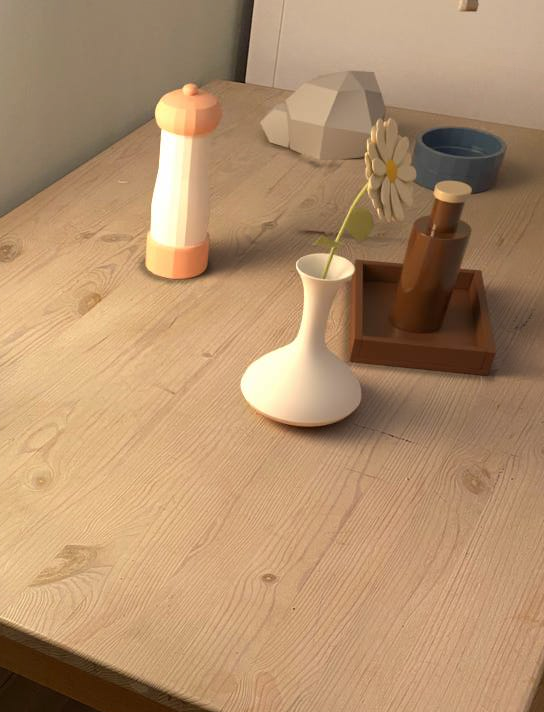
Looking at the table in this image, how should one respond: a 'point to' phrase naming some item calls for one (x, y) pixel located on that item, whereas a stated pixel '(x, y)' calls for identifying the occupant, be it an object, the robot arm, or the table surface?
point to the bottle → (432, 262)
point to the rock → (328, 116)
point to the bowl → (458, 157)
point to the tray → (419, 350)
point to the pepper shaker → (182, 184)
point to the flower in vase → (330, 303)
